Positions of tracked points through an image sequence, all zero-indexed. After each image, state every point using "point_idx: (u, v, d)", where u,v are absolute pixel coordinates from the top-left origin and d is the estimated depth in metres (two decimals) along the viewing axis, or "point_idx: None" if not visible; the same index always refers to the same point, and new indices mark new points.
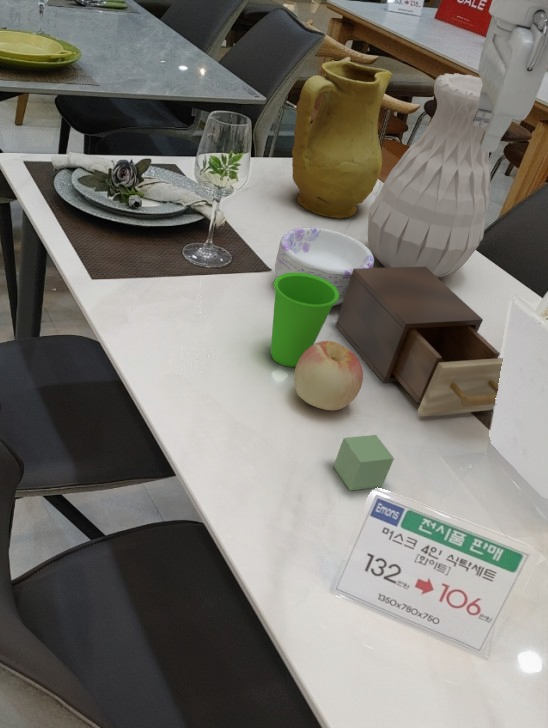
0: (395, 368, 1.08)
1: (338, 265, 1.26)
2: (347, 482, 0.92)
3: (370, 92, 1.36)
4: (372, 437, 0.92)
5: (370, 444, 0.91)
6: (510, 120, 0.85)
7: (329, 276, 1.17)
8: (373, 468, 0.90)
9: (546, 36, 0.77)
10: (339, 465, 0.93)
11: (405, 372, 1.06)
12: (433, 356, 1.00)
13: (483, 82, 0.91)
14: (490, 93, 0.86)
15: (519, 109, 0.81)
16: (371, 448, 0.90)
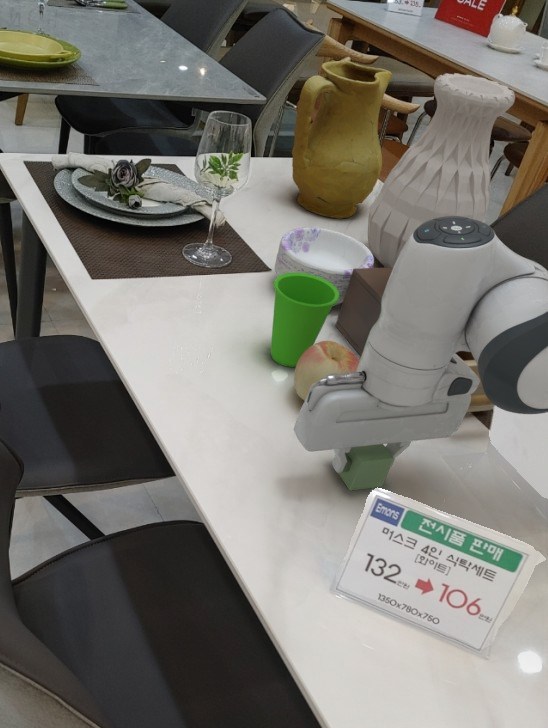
0: None
1: (338, 265, 1.26)
2: (347, 482, 0.92)
3: (370, 92, 1.36)
4: None
5: None
6: (339, 450, 0.88)
7: (329, 276, 1.17)
8: (373, 468, 0.90)
9: (315, 387, 0.81)
10: None
11: None
12: None
13: None
14: None
15: (300, 439, 0.85)
16: (371, 448, 0.90)
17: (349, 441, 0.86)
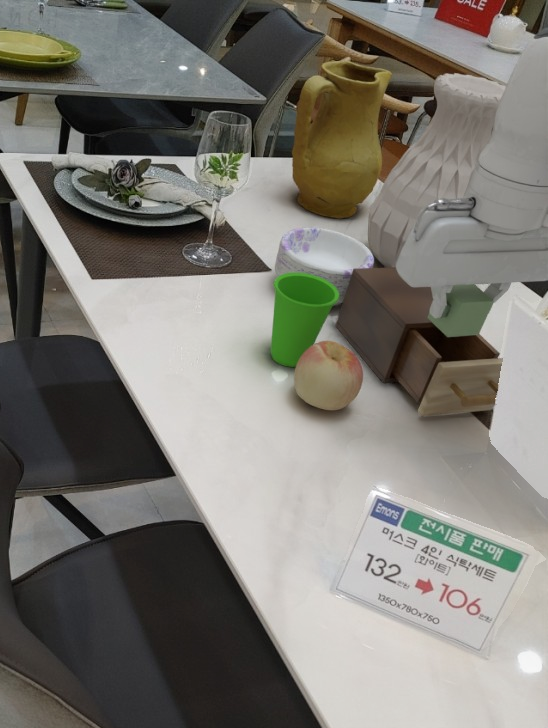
0: (395, 368, 1.08)
1: (338, 265, 1.26)
2: (444, 329, 0.90)
3: (370, 92, 1.36)
4: None
5: (468, 289, 0.90)
6: (440, 290, 0.86)
7: (329, 276, 1.17)
8: (473, 311, 0.88)
9: (424, 212, 0.79)
10: None
11: (405, 372, 1.06)
12: (433, 356, 1.00)
13: None
14: None
15: (404, 274, 0.84)
16: (469, 292, 0.89)
17: (453, 277, 0.85)
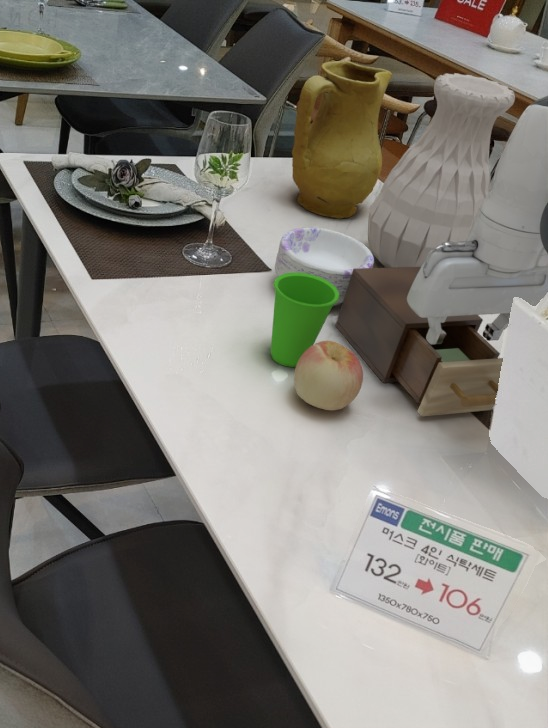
0: (395, 368, 1.08)
1: (338, 265, 1.26)
2: None
3: (370, 92, 1.36)
4: (455, 349, 1.06)
5: (454, 355, 1.05)
6: (435, 320, 0.97)
7: (329, 276, 1.17)
8: None
9: (433, 253, 0.90)
10: None
11: (405, 372, 1.06)
12: (433, 356, 1.00)
13: None
14: None
15: (414, 305, 0.95)
16: (455, 358, 1.04)
17: (457, 309, 0.96)
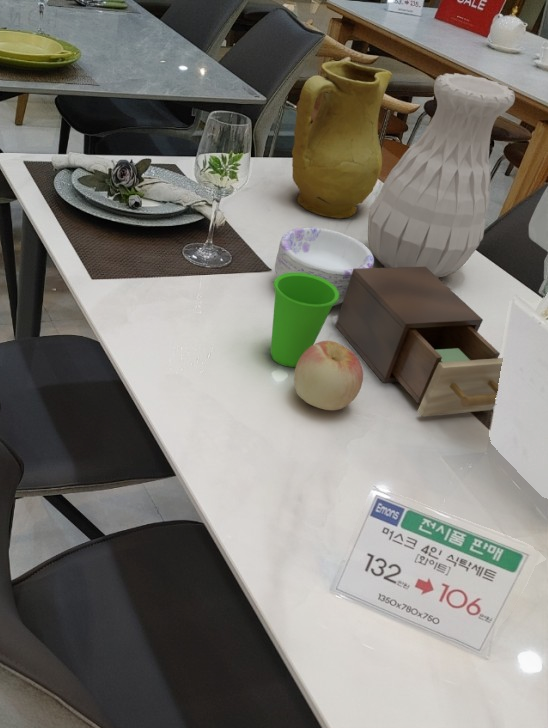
0: (395, 368, 1.08)
1: (338, 265, 1.26)
2: None
3: (370, 92, 1.36)
4: (455, 349, 1.06)
5: (454, 355, 1.05)
6: None
7: (329, 276, 1.17)
8: None
9: None
10: None
11: (405, 372, 1.06)
12: (433, 356, 1.00)
13: None
14: None
15: None
16: (455, 358, 1.04)
17: None
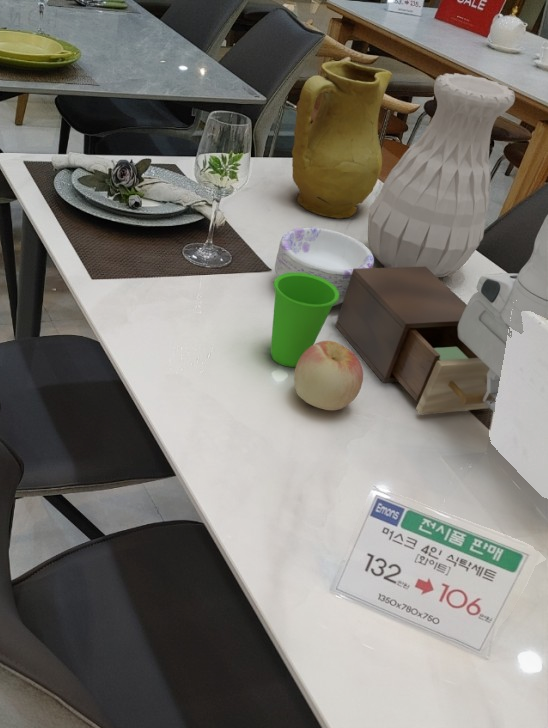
0: (394, 366, 1.09)
1: (338, 265, 1.26)
2: None
3: (370, 92, 1.36)
4: (453, 348, 1.06)
5: (452, 353, 1.05)
6: None
7: (329, 276, 1.17)
8: None
9: None
10: None
11: (404, 371, 1.07)
12: (431, 355, 1.01)
13: (487, 363, 0.95)
14: None
15: None
16: (453, 356, 1.04)
17: None
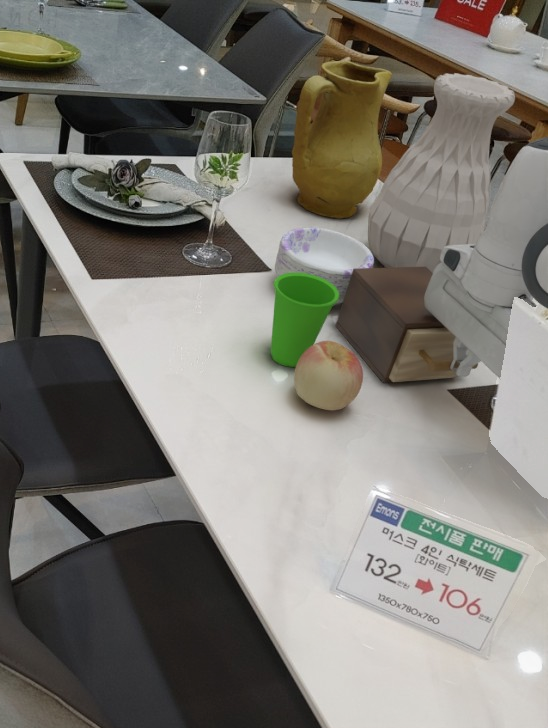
0: None
1: (338, 265, 1.26)
2: None
3: (370, 92, 1.36)
4: None
5: None
6: None
7: (329, 276, 1.17)
8: None
9: None
10: None
11: None
12: None
13: (451, 329, 1.01)
14: (481, 355, 0.96)
15: None
16: None
17: None
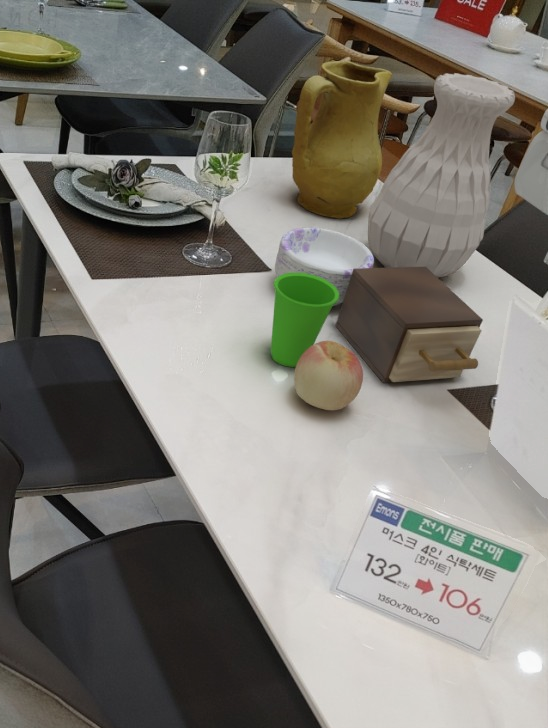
0: None
1: (338, 265, 1.26)
2: None
3: (370, 92, 1.36)
4: None
5: None
6: None
7: (329, 276, 1.17)
8: None
9: None
10: None
11: None
12: None
13: None
14: None
15: None
16: None
17: None
